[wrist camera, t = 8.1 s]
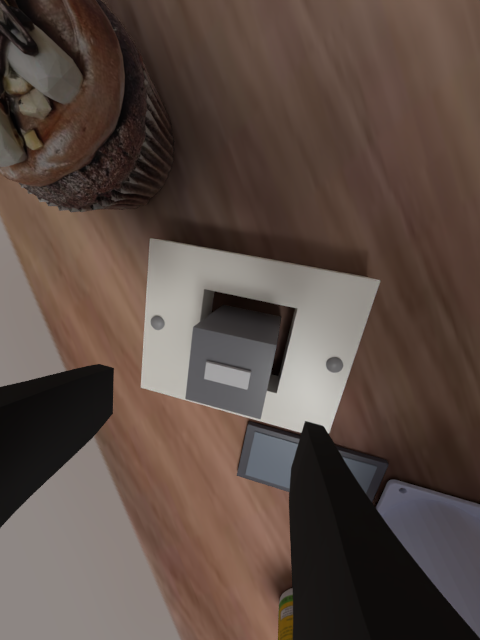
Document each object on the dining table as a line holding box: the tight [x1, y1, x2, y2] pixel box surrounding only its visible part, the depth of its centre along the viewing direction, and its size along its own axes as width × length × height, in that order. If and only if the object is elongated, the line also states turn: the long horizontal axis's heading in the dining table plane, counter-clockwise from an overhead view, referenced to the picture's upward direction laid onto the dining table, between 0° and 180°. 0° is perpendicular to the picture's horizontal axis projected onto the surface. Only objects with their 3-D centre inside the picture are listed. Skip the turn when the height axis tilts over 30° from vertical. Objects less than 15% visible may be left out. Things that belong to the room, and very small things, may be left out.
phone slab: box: [237, 421, 388, 502], centre depth 21 cm, size 6×11×1 cm, turn 80°
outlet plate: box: [141, 238, 381, 434], centre depth 17 cm, size 14×11×3 cm
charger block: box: [185, 305, 281, 419], centre depth 16 cm, size 4×4×6 cm
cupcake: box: [0, 0, 174, 212], centre depth 12 cm, size 10×10×10 cm
